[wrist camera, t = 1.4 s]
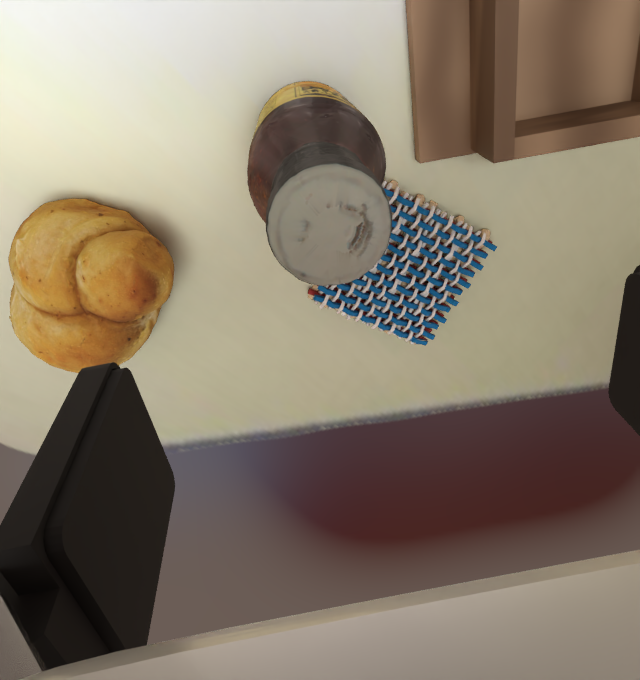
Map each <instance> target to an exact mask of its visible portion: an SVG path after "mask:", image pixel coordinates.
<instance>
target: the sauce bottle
mask: <svg viewBox="0 0 640 680" xmlns="http://www.w3.org/2000/svg"><path fill="white" fill-rule="evenodd" d="M385 170H386V158H385V152H384V148H383V145H382V142H381V139H380V137H379V135H378V133H377V131H376V130H375V128H374V126H373V125H372V124H371V123H370V122H369V120H368V119H367V118H366V117H365V116H364V115H363V114H362V113H361V112H360V111H359V110H357V109H356V108H355V107H354V106H353V105H352V104H351V103H350V102H349V101H348V100H347V99H345V98H344V97H343V96H342V95H341V94H340V93H339V92H338V91H336V90H334V89H333V88H331V87H329V86H328V85H325V84H322V83H318V82H312V81H303V82H296V83H292V84H290V85H287V86H285V87H284V88H282V89H280V90H279V91H278V92H276V93H275V94H274V95H273V96H272V97H271V98H270V99H269V100H268V102H267V103H266V104H265V106H264V108H263V109H262V111H261V113H260V115H259V119H258V122H257V126H256V129H255V132H254V136H253V139H252V142H251V146H250V151H249V159H248V171H247V174H248V186H249V191H250V195H251V198H252V200H253V202H254V206H255V207H256V209H257V211H258V213H259V215H260V216H261V218H262V219H263V220H264V222H265V223H266V232H267V237H268V242H269V245H270V247H271V250H272V252H273V254H274V256H275V257H276V259H277V260H278V262H279V263H280V264H281V265H282V266H283V267H284V268H285V269H286V270H287V271H289V272H290V273H291V274H293V275H294V276H295V277H297V278H298V279H299V280H302V281H304V282H307V283H309V284H314V285H319V286H327V285H339V284H343V283H349V282H351V281H353V280H355V279H358V278H360V277H362V276H363V275H364V274H365V273H367V272H368V271H369V270H371V269H372V268H373V267H374V266H375V265H376V263H377V262H378V261H379V260H380V258H381V257H382V256H383V255H384V253H385V251H386V249H387V247H388V244H389V240H390V236H391V229H392V211H391V207H390V204H389V201H388V198H387V195H386V193H385V190H384V188H383V186H382V183H383V180H384V177H385Z"/></svg>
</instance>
